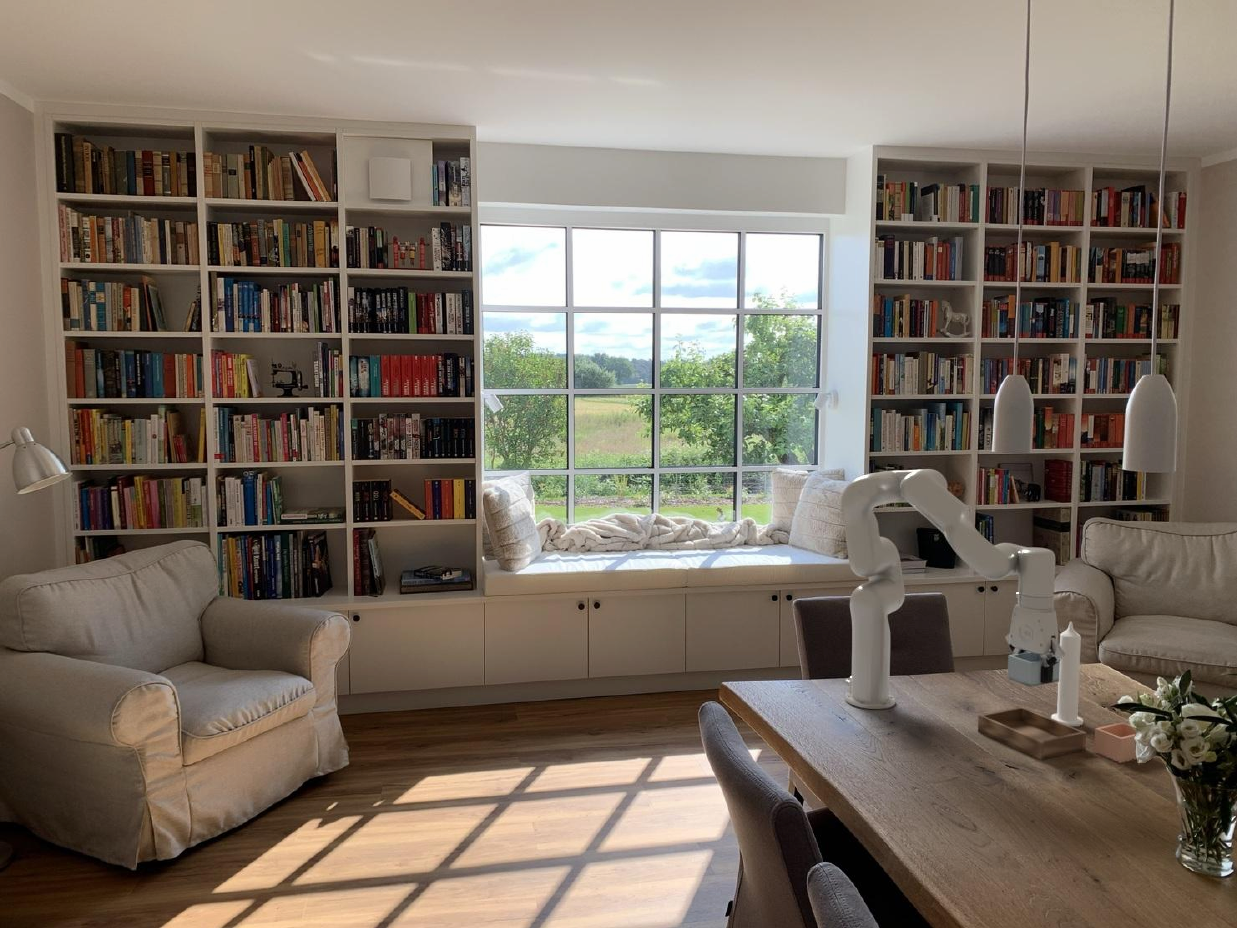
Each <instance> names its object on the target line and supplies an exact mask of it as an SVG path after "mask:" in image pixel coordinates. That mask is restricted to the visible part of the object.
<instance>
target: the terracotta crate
mask: <svg viewBox="0 0 1237 928" xmlns="http://www.w3.org/2000/svg"><path fill="white" fill-rule="evenodd" d="M1135 734H1136V732H1135V731H1134V730H1133V729H1132V728H1131V727H1130V724H1128V723H1126V722H1117V723H1113V724H1109V725H1104V726H1100V727H1096V728H1094V743H1093V745H1094V746H1093V752H1094V754H1097V753H1099V754H1101V755H1100V756H1102V755H1103V756H1102V757H1104V756H1105V758H1107V759H1109V758H1111V759H1113V760H1112V761H1114V760H1115V761H1114V762H1116V761H1118V762H1117V763H1119V764H1123V763H1126V762H1125V761H1127V762H1131V761H1135V760H1136V759H1135V743H1134V736H1135ZM1099 754H1098V755H1099ZM1133 758H1134V760H1132V759H1133ZM1111 759H1110V760H1111ZM1130 760H1131V761H1130ZM1122 762H1123V763H1122Z"/></svg>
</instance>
